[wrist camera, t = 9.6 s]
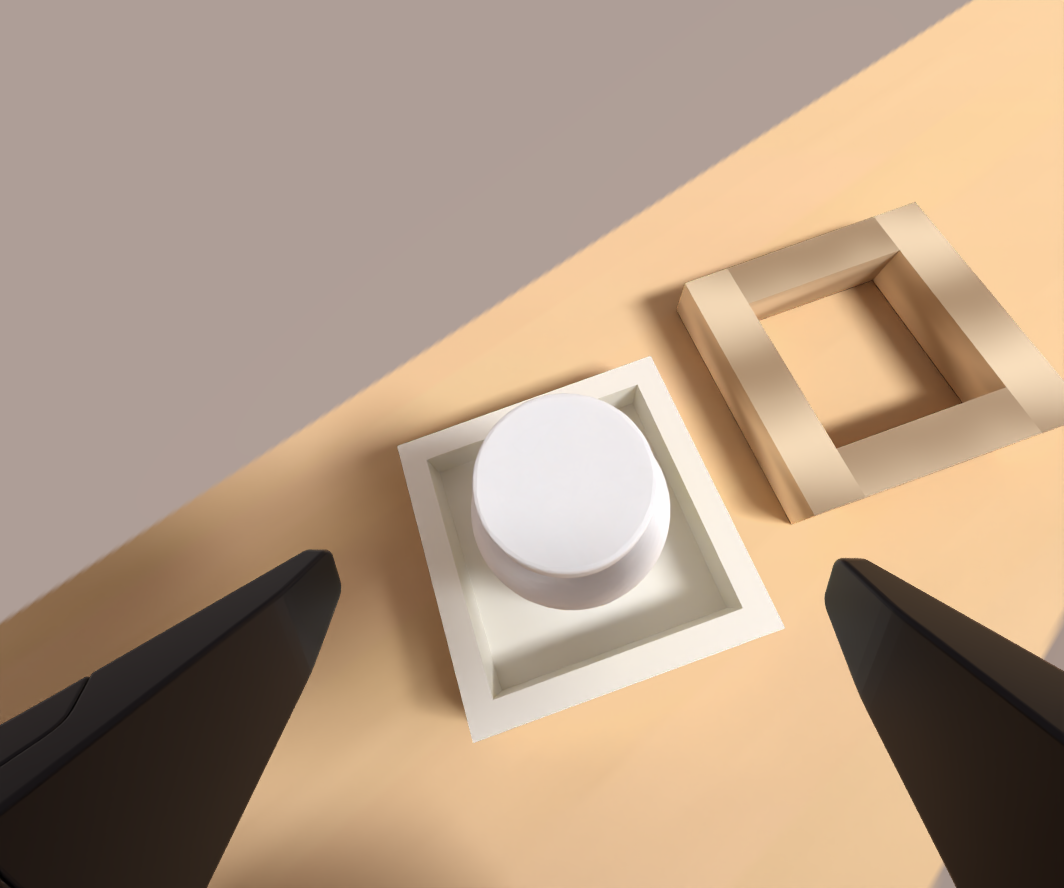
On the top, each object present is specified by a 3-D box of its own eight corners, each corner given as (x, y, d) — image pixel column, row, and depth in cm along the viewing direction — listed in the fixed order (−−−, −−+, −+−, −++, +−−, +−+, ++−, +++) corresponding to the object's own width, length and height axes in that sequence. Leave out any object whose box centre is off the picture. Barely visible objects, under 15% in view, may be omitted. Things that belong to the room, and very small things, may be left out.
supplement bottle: (532, 458, 20) (491, 337, 11) (656, 495, 19) (724, 395, 10) (488, 582, 19) (400, 559, 10) (621, 629, 18) (662, 654, 9)
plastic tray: (758, 625, 18) (785, 627, 16) (487, 724, 18) (473, 742, 16) (643, 382, 22) (650, 355, 19) (417, 463, 22) (397, 445, 19)
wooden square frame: (1041, 433, 19) (1092, 414, 17) (791, 524, 19) (814, 515, 17) (887, 235, 23) (915, 202, 21) (676, 309, 23) (685, 283, 21)
